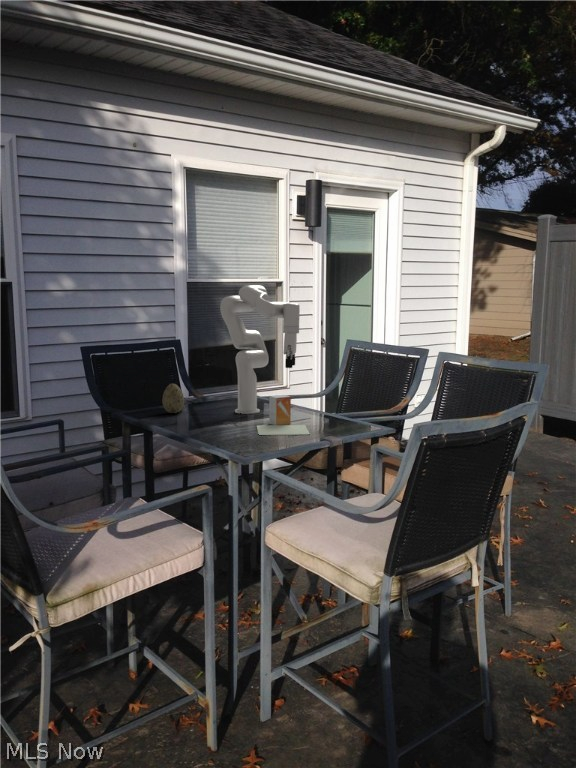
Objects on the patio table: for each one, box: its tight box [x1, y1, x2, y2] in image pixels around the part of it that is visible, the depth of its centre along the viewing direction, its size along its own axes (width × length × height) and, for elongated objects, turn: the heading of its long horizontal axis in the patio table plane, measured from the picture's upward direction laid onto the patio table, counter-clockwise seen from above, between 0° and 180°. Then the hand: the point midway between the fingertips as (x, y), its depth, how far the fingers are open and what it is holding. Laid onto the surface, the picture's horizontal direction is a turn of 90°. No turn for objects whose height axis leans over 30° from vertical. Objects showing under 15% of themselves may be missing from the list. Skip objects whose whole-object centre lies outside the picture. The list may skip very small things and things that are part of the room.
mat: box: [256, 424, 311, 436], centre depth 299 cm, size 20×22×1 cm
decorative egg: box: [161, 383, 185, 414], centre depth 339 cm, size 11×11×15 cm
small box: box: [268, 394, 292, 425], centre depth 313 cm, size 8×6×13 cm
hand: (290, 366), depth 316 cm, fingers open, 9 cm apart
